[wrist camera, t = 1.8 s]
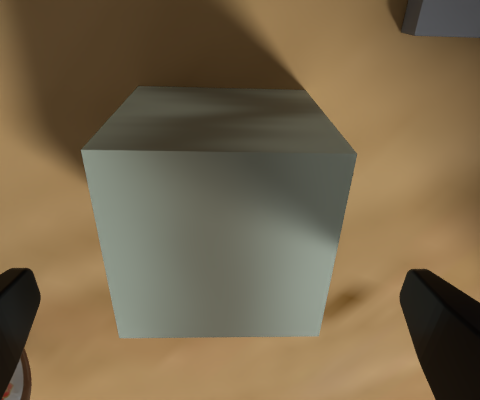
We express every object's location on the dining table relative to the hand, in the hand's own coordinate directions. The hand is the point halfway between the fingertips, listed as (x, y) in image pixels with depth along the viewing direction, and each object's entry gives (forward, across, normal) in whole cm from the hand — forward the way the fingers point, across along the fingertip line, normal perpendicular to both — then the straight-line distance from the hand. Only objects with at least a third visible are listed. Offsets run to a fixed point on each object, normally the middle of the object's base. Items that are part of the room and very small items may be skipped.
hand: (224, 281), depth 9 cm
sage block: (+7, 0, 0) cm, 7 cm away
